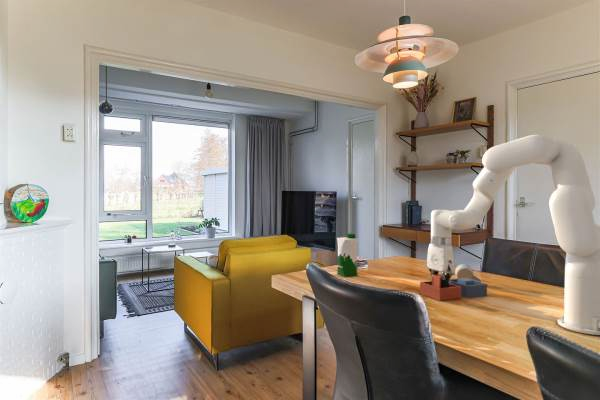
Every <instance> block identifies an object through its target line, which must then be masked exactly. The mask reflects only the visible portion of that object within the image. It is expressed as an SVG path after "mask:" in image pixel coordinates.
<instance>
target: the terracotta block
mask: <svg viewBox="0 0 600 400" xmlns="http://www.w3.org/2000/svg"><path fill="white" fill-rule="evenodd" d="M441 279H442V273H438V274H436V275H432V276H431V281H432V286H435V287H438V288H441Z"/></svg>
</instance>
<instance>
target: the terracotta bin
mask: <svg viewBox="0 0 600 400" xmlns="http://www.w3.org/2000/svg"><path fill="white" fill-rule="evenodd" d="M419 294H421V295H424V296H425V297H426V296H427V297H429V298H430V299H431V298H432V299H434V300H436V301H439V302H441V301H450V300H451V301H452V300H460V299H462V296H461V286H457V285H454V284H451V283H449V287H448V288H438V287H435V286H432V280H427V281H420V282H419Z"/></svg>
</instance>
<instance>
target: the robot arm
mask: <svg viewBox="0 0 600 400" xmlns="http://www.w3.org/2000/svg"><path fill="white" fill-rule="evenodd" d="M481 160H482V161H481V162H482V165H483V168H482V169H481V171H480V172H479V173H478V175H477V176H476V178H474V180H473V182H472V188H473V195H472V198H471V199H470V201H469V202H468V204H467V205H466V207H464V209H455V210H449V209H433V210H431V212H430V243H429V245H428V248H427V256H426V268H427V270H429V273H430V276H431V277H432V275H436V274H440V273H441V274H442V279H441V288H448V287H449V279H452V277H453V276H454V275H456V274H455V269H454V251H453V246H452V230H453V231H465V230H472V229H474V228H475V227H477V226H478V225H479V223H481V221H482V220H483V219H484V217H485V216H486V215H487V213H488V212H489V210H490V208H491V207H492V205H493V202H494V200H495V197H496V195H497V193H498V192H499V191H500V190H501V189H502V187H503V186H504V185H505V183H506V182H507V181H508V179H509V178H510V177H511V175H512V174H513V173H514V171H515V170H516V169H517V167H522V166H525V165H530V164H538V165H547V166H549V167H550V169H551V175H552V180H553V183H554V188H555V190H553V192H552V194H551V195H550V197H549V201H548V206H549V212H550V216H551V220H552V224H553V228H554V233H555V237H556V240H557V244H558V245H559V247H560V248H561V250H562V251H563V252H565V260H564V261H565V262H564V293H563V295H564V297H563V298H564V299H563V301H564V302H563V317H559V318H557V324H558V325H559V327H562V328H564V329H567V330H569V331H572V332H576V333H581V334H585V335H592V336H600V225H599V224H598V223H596V222H595V219H594V214H593V211H594V210H595V207H596V198H595V195H594V192H593V189H592V184H591V181H590V178H589V175H588V172H587V171H588V170H587V168H586V164H585V161H584V158H583V156H582V153H581V152H580V150H578V148H577V147H575V145H573V144H571V143H570V142H567V141H563V140H559V139H554V138H551V137H548V136H545V135H541V134H531V135H526V136H524V137H521V138H517V139H514V140H511V141H507V142H503V143H500V144H497V145H494V146H492V147H490V148H488V149H487V150H486V151H485V152H484V153H483V156H482V158H481Z"/></svg>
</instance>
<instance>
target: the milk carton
mask: <svg viewBox="0 0 600 400" xmlns="http://www.w3.org/2000/svg"><path fill="white" fill-rule="evenodd" d="M336 241H337V242H336V243H337V270H336V273H337V275H340V276H341V277H343V278H346V277H357V276H358V263H357V262H358V245H359V238H357V237H356V233H347V234H346V236H345V237H343V236H341V237H336Z"/></svg>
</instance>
